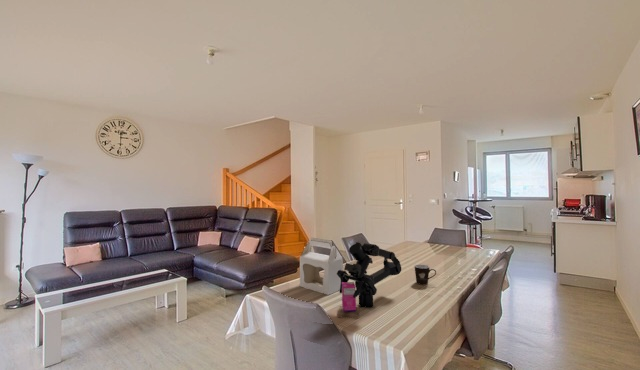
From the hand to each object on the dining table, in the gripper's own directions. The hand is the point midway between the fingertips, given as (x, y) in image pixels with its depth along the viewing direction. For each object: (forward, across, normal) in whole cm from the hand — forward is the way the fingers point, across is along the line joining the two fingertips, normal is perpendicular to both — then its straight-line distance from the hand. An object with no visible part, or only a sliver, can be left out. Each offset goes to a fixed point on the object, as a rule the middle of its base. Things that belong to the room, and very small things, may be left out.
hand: (346, 295), depth 136 cm
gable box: (-6, -34, +19) cm, 39 cm away
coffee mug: (-39, +5, +53) cm, 66 cm away
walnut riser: (+5, 0, +7) cm, 9 cm away
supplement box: (+4, 0, +6) cm, 7 cm away
